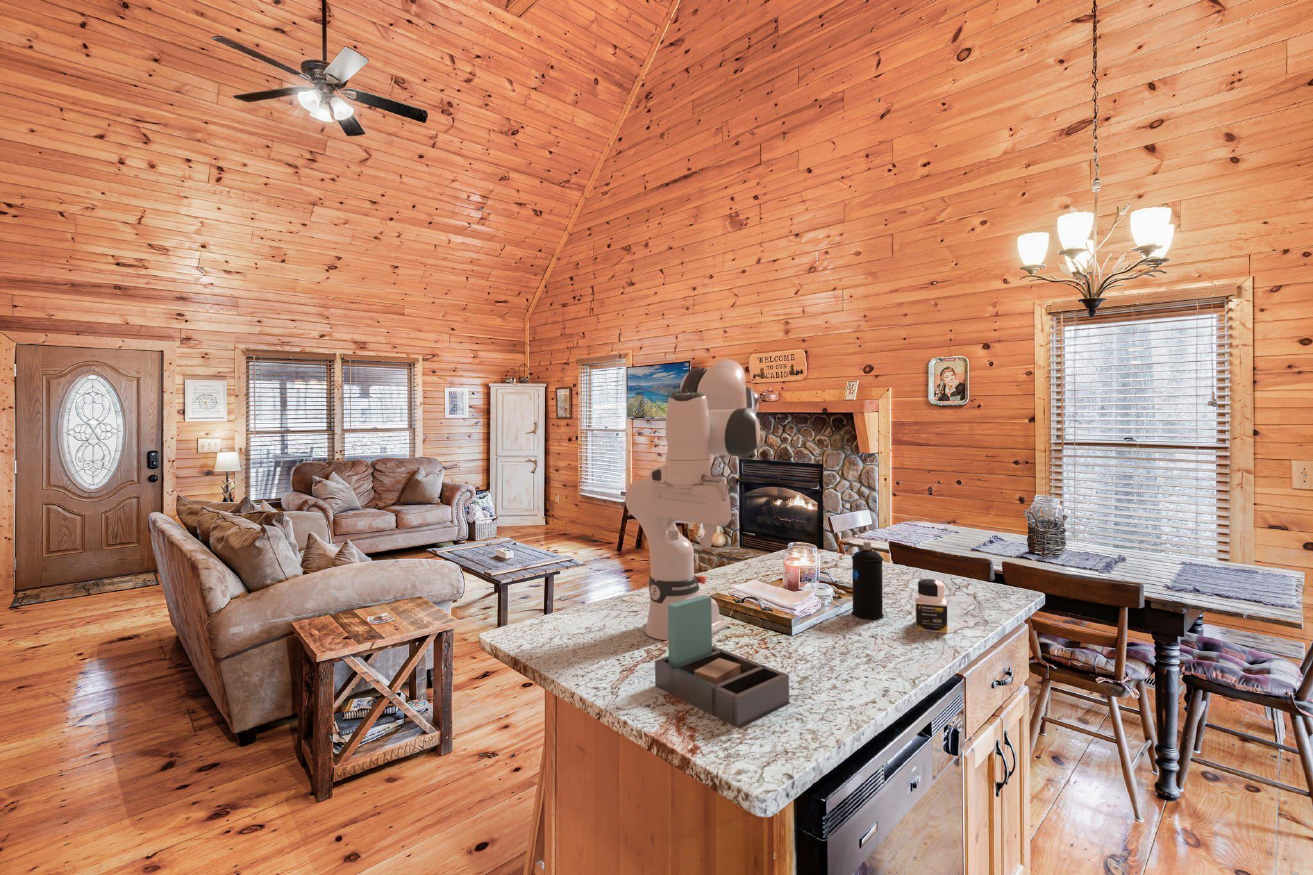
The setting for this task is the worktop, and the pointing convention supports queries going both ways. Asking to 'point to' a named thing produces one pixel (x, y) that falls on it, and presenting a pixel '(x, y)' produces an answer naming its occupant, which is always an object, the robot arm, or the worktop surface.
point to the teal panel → (689, 629)
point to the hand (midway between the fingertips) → (688, 543)
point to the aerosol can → (867, 584)
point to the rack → (726, 688)
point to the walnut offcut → (718, 671)
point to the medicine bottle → (931, 606)
